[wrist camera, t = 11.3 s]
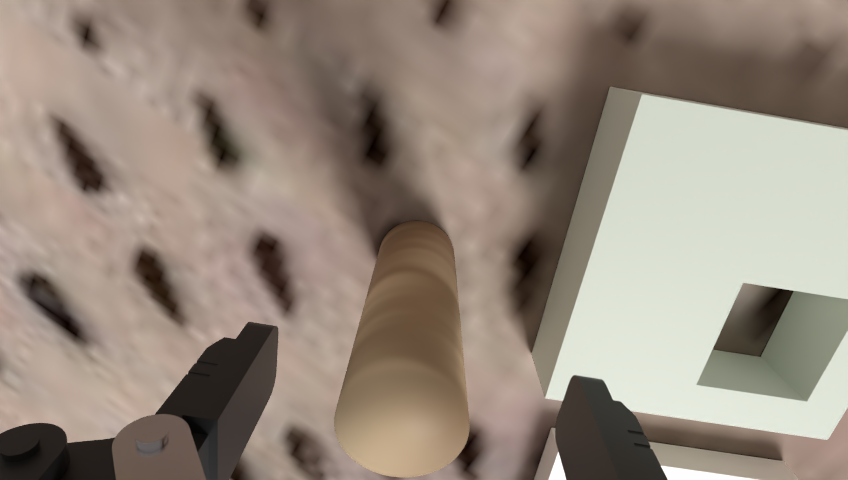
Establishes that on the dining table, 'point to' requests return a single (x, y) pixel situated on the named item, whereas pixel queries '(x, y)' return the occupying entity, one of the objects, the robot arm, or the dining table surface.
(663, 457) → the board
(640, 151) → the peg board
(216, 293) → the dining table surface
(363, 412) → the peg
